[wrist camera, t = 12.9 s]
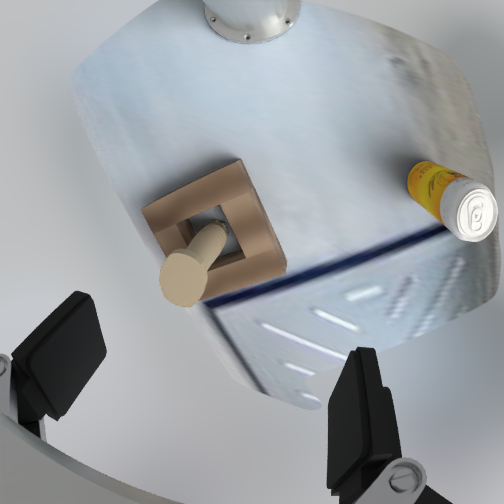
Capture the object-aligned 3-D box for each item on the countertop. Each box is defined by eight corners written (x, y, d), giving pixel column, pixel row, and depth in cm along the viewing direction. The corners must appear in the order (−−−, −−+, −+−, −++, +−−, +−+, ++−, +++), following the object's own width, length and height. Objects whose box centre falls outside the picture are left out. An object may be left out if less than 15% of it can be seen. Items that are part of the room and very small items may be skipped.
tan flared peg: (199, 243, 45) (157, 297, 31) (208, 204, 42) (163, 247, 28) (229, 253, 45) (197, 312, 31) (240, 214, 42) (209, 262, 28)
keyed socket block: (153, 201, 43) (140, 209, 39) (240, 158, 38) (234, 163, 35) (200, 288, 48) (193, 302, 45) (287, 260, 44) (285, 274, 40)
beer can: (441, 159, 33) (501, 183, 20) (443, 201, 36) (497, 242, 22) (403, 161, 35) (453, 186, 21) (406, 204, 37) (451, 248, 24)
